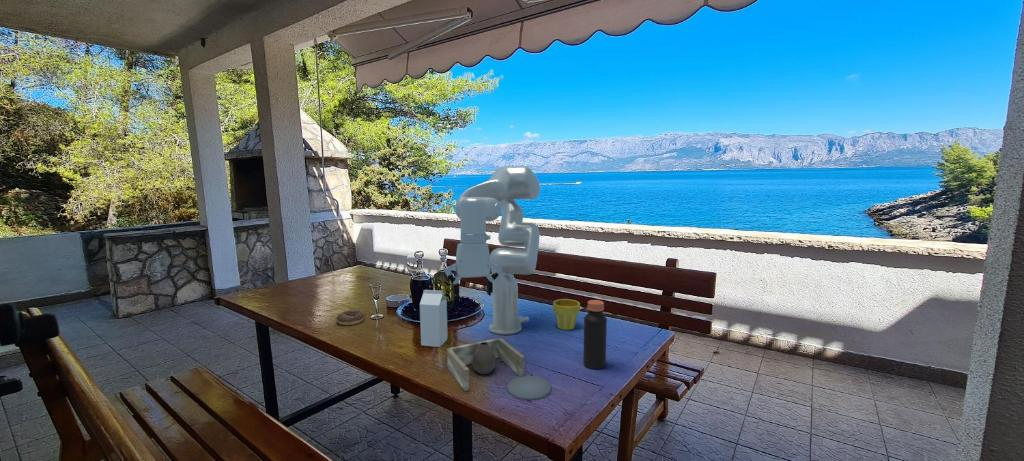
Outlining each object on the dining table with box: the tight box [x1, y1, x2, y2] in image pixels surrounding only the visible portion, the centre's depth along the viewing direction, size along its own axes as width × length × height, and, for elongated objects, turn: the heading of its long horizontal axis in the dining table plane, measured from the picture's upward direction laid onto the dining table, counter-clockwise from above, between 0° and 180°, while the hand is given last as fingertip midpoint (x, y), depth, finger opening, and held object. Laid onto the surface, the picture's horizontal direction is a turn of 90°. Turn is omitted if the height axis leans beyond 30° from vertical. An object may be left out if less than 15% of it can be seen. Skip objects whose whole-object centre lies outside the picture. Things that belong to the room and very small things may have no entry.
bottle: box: [582, 299, 608, 370], centre depth 125 cm, size 7×7×20 cm
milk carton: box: [419, 289, 448, 348], centre depth 142 cm, size 7×7×19 cm
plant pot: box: [552, 298, 581, 331], centre depth 158 cm, size 10×10×10 cm
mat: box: [506, 375, 552, 401], centre depth 112 cm, size 12×12×1 cm
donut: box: [336, 309, 366, 326], centre depth 165 cm, size 11×11×4 cm
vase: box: [472, 341, 497, 375], centre depth 121 cm, size 7×7×9 cm
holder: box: [445, 337, 525, 392], centre depth 121 cm, size 18×16×6 cm
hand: (473, 295), depth 123 cm, fingers open, 9 cm apart
